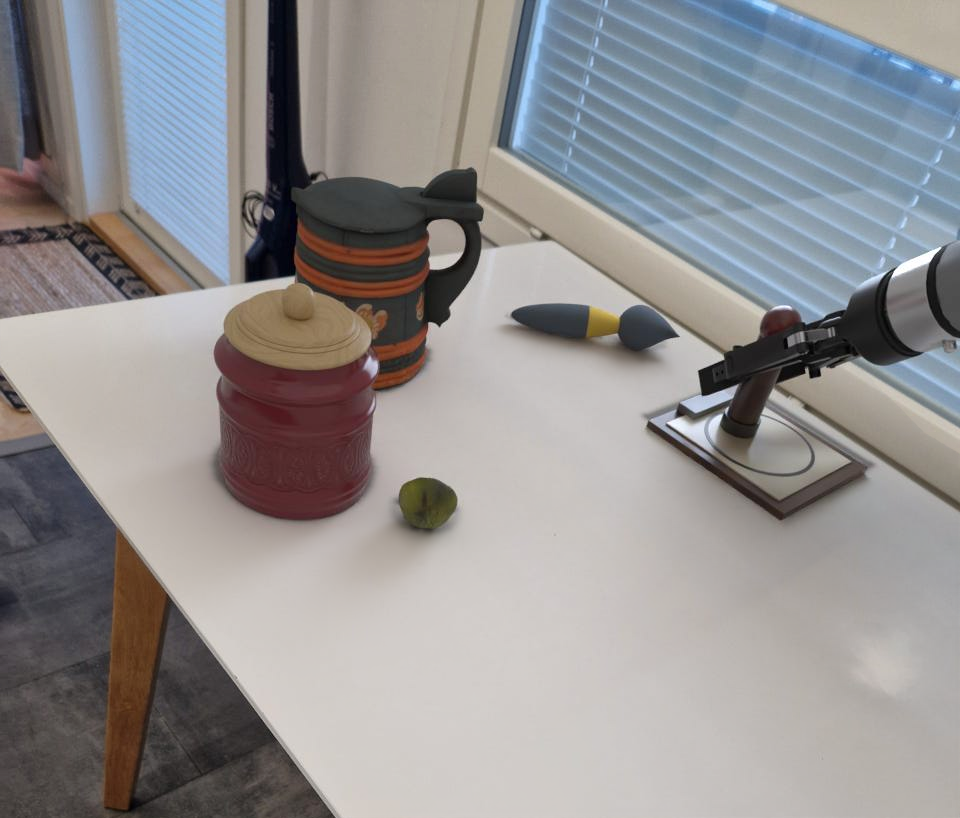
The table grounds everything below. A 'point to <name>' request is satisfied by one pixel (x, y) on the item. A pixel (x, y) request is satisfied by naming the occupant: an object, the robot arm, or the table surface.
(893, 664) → the table surface
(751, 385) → the dot stamp
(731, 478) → the clipboard
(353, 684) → the table surface
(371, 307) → the beer stein
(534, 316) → the paintbrush
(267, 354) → the kitchen canister
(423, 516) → the lime
